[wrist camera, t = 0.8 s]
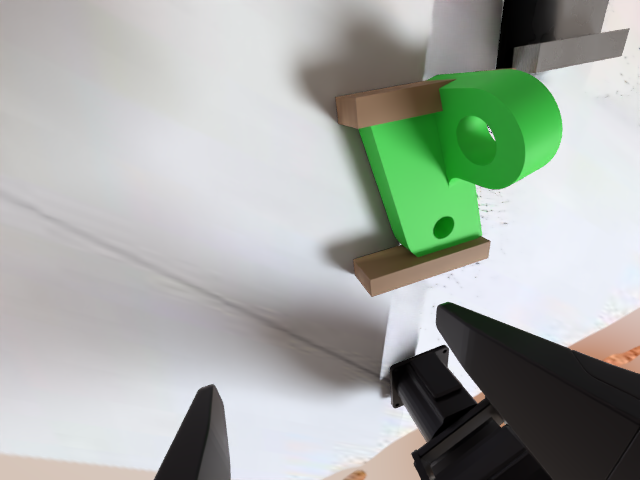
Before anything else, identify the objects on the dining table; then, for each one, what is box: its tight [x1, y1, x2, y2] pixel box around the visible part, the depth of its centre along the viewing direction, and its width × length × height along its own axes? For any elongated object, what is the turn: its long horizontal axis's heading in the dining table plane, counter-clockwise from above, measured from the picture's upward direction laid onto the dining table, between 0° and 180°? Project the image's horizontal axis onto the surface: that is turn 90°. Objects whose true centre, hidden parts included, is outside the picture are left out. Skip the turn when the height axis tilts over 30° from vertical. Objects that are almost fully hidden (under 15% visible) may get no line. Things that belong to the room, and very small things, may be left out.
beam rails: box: [335, 68, 516, 297], centre depth 21 cm, size 13×10×3 cm
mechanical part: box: [358, 69, 562, 257], centre depth 18 cm, size 12×6×8 cm, turn 24°
